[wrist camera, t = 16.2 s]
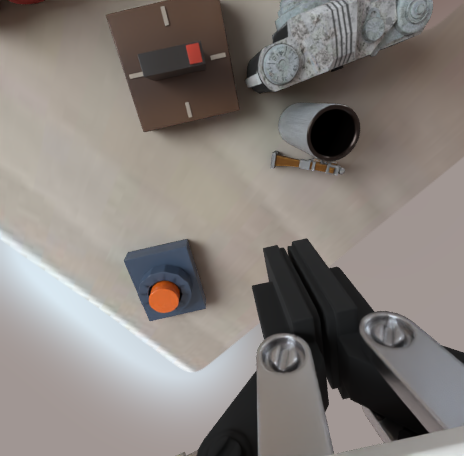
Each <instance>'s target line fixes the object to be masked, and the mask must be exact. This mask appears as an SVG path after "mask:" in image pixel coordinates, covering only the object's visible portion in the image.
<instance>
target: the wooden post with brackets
mask: <svg viewBox="0 0 464 456" xmlns="http://www.w3.org/2000/svg"><path fill="white" fill-rule="evenodd" d="M278 153H279V152H277V151H275V152H273V154H272V160H271V167H270V168H275V167H276V166H295V167H299V168H302V169H307V170H309V169H311V171H314V170H318V171H323V172H326V173H328V174H333V175H338V173H339V174H343V173H344V172H345V169H344V168H340V166H337V162H332V163H329V164H327V162H325V163H324V162H323V161H322V160H317V159H314V158H313V159H312V160H311V159H309V160H304V159H301V160H298V159H293V158H289V157H285V156H282V155H279V154H278Z"/></svg>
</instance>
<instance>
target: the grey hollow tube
mask: <svg viewBox="0 0 464 456" xmlns="http://www.w3.org/2000/svg"><path fill="white" fill-rule="evenodd" d="M278 127H279V132H280V135H281V137H282V138H283V139H284V140H285V141H286V142H287V143H289V144H291V145H293V146H295V147H297V148H299V149H300V150H302V151H304V152H306V153H308V154H310V155H312V156H314V157H316V158H317V159H320V160H322V161H336V160H339V159H341V158H343V157H345V156H346V155H347V154H349V153H350V152H351V151H352V149H353V148H354V147H355V145H356V143H357V141H358V138H359V135H360V122H359V119H358V116H357V115H356V113H355V112H354V111H353V110H352V109H351V108H350V107H348V106H346V105H342V104H327V103H295V104H292V105H290V106H289V107H287V108H286V109H285V110H284V111H283V113H282V114H281V116H280V119H279V125H278Z"/></svg>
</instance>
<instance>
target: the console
mask: <svg viewBox="0 0 464 456" xmlns="http://www.w3.org/2000/svg"><path fill="white" fill-rule="evenodd" d="M106 18H107V21H108V24H109V27H110V30H111V33H112V36H113V39H114V42H115V45H116V49H117V52H118V55H119V58H120V61H121V64H122V67H123V70H124V73H125V76H126V79H127V82H128V85H129V89H130V92H131V95H132V98H133V101H134V104H135V107H136V110H137V113H138V116H139V119H140V122H141V126H142V129H143V132H147V131H152V130H156V129H160V128H165V127H169V126H173V125H178V124H182V123H186V122H191V121H195V120H199V119H204V118H208V117H212V116H217V115H221V114H225V113H230V112H234V111H238V110H240V109H239V103H238V98H237V92H236V87H235V82H234V76H233V71H232V65H231V60H230V54H229V49H228V43H227V38H226V33H225V27H224V22H223V16H222V11H221V5H220V0H166V1H162V2H158V3H154V4H149V5H145V6H141V7H137V8H132V9H128V10H124V11H120V12H115V13H111V14H107V15H106ZM196 41H201V44H202V49H203V54H204V59H205V70H202V71H197V72H193V73H188V74H183V75H179V76H174V77H170V78H165V79H161V80H156V81H154V80H151V79H148V78H145V77H144V76H143V72H142V69H141V66H140V62H139V59H138V54H141V53H146V52H150V51H155V50H159V49H164V48H168V47H173V46H177V45H182V44H187V43H191V42H196Z"/></svg>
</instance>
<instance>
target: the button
mask: <svg viewBox="0 0 464 456" xmlns="http://www.w3.org/2000/svg"><path fill="white" fill-rule="evenodd" d="M179 297H180V290H179V288H178V286H177V285H176V284H174V283H173V282H170V281H160V282H158V283H156V284H155V285H154V286H153V287H152V289H151V293H150V296H149V304H150V306H151V307H152V308H153V309H154V310H155V311H157V312H161V313H167V312H171V311H173V310H174V309H175V308H176V307H177V306H178V304H179Z"/></svg>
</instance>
